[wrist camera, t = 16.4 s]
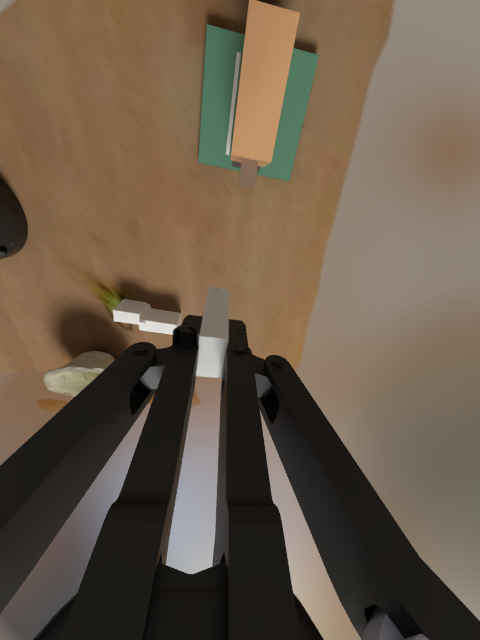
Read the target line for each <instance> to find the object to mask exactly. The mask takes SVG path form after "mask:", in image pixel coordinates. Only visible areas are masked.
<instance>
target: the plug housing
mask: <svg viewBox="0 0 480 640" xmlns="http://www.w3.org/2000/svg"><path fill="white" fill-rule="evenodd" d="M299 16H300V13H298V12H294V11H291V10H288V9H284V8H281V7H277V6H274V5H271V4H267V3H264V2H260V1H257V0H249V6H248V14H247V23H246V31H245V40H244V48H243V57H242V65H241V74H240V82H239V91H238V99H237V108H236V116H235V125H234V133H233V142H232V150H231V161H236V162H241V170H240V177H239V184H238V186H240V187H245V188H250V189H254V185H255V179H256V173H257V167H258V166H261V167H264V166H266V165H268V164H269V163H271V161H272V156H273V151H274V146H275V140H276V135H277V130H278V125H279V120H280V114H281V109H282V104H283V99H284V94H285V89H286V83H287V78H288V73H289V68H290V63H291V57H292V52H293V47H294V42H295V37H296V31H297V26H298V21H299Z"/></svg>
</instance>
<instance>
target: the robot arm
mask: <svg viewBox="0 0 480 640" xmlns="http://www.w3.org/2000/svg"><path fill="white" fill-rule="evenodd" d="M26 239H27V223H26V219H25V216H24V213H23V211H22V208H21V206H20V204H19V203H18V201H17V199H16V198H15V196H14V195H13V194H12V192H11V191H10V190H9V189H8V187H7V186H6V185H5V184H4V183H3V182H2V181H1V180H0V259H3V258H6V257H9V256H12V255H14V254H16V253H18V252H19V251H20V250H21V249H22V248H23V246H24V244H25V242H26ZM222 375H223V377H222ZM196 376H204V377H216V378H222V384H221V389H220V395H221V404H220V430H219V455H218V481H217V506H216V534H215V544H214V555H213V567H210V568H208V569H205V570H203V571H200V572H198V573H195V574H187V573H184V572H182V571H179V570H177V569H174V568H171V567H169V566H166V565H165V564H166V557H167V550H168V542H169V536H170V529H171V523H172V518H173V512H174V506H175V499H176V493H177V487H178V481H179V476H180V469H181V464H182V458H183V451H184V445H185V440H186V434H187V428H188V421H189V415H190V409H191V404H192V398H193V392H194V386H195V377H196ZM155 392H156V393H155ZM154 394H155V396H154V398H153V401H152V404H151V407H150V410H149V413H148V416H147V419H146V422H145V424H144V427H143V430H142V433H141V436H140V438H139V441H138V444H137V447H136V450H135V453H134V456H133V458H132V461H131V464H130V467H129V470H128V473H127V475H126V478H125V481H124V484H123V487H122V490H121V492H120V495H119V497H118V499H117V500H116V501H115V502H114V503H113V504H112V505H111V507H110V509H109V510H108V513H107V515H106V518H105V520H104V522H103V525H102V528H101V531H100V533H99V536H98V539H97V541H96V544H95V547H94V549H93V552H92V555H91V558H90V560H89V563H88V566H87V569H86V571H85V574H84V577H83V579H82V582H81V585H80V587H79V590H78V593H77V594H76V595H75V596H73V597H72V598H71V599H70V600H69V601H68V602H67V603H66V604H65V605H64V606H63V607H62V608H61V609H60V610H59V611H58V612H57V613H56V615H54V617H53V618H52V619H51V620H50V621H49V622H48V624H46V626H45V627H44V628H43V629H42V630H41V632H39V634H38V635H37V636H36V637H35V638H34V640H324V639H323V638H322V636H321V635H320V633H319V631H318V629H317V628H316V626H315V625H314V623H313V622H312V620H311V618H310V616H309V615H308V614H307V612H306V610H305V608H304V607H303V606H302V604H301V602H300V601H299V600H298V598H297V597H296V596H295V595H294V593H293V590H292V584H291V578H290V571H289V565H288V559H287V552H286V546H285V540H284V533H283V527H282V521H281V517H280V513H279V510H278V508H277V506H276V505H275V504H274V503H273V501H272V496H271V489H270V482H269V475H268V467H267V460H266V452H265V445H264V438H263V431H262V423H261V416H260V411H261V413H262V416H263V418H264V420H265V423H266V425H267V428H268V430H269V433H270V435H271V437H272V440H273V442H274V445H275V447H276V449H277V452H278V454H279V457H280V459H281V461H282V464H283V466H284V469H285V471H286V474H287V476H288V478H289V481H290V483H291V486H292V488H293V491H294V493H295V495H296V498H297V500H298V503H299V505H300V507H301V510H302V512H303V515H304V517H305V520H306V522H307V524H308V527H309V529H310V532H311V534H312V536H313V539H314V541H315V544H316V546H317V549H318V551H319V553H320V556H321V558H322V561H323V563H324V565H325V568H326V570H327V573H328V575H329V577H330V580H331V582H332V584H333V586H334V589H335V591H336V593H337V595H338V597H339V600H340V602H341V603H342V605H343V607H344V609H345V611H346V613H347V615H348V617H349V618H350V620H351V622H352V624H353V626H354V627H355V629H356V631H357V632H358V634H359V636H360V637H361V640H480V621H479V620H478V619H477V618H476V617H475V616H474V615H473V613H472V612H471V611H469V609H468V608H467V607H466V606H465V605H464V604H463V603H462V602H461V601H460V600H459V599H458V597H457V596H456V595H455V594H454V593H453V592H452V591H451V590H450V589H449V588H448V587H447V586H446V585H445V584H444V583H443V582H442V580H441V579H440V578H439V577H438V576H437V575H436V574H435V573H434V572H433V571H432V570H431V569H430V568H429V567H428V566H427V565H426V564H425V562H424V561H423V560H422V559H421V558H420V557H419V555H418V554H417V552H416V551H415V550H414V548H413V547H412V545H411V544H410V542H409V541H408V539H407V538H406V536H405V535H404V533H403V532H402V530H401V529H400V527H399V526H398V524H397V523H396V521H395V520H394V518H393V517H392V516H391V514H390V512H389V511H388V509H387V508H386V507H385V505H384V503H383V502H382V501H381V499H380V497H379V496H378V494H377V493H376V491H375V490H374V489H373V487H372V486H371V484H370V482H369V481H368V479H367V478H366V477H365V475H364V474H363V472H362V471H361V469H360V468H359V466H358V465H357V463H356V462H355V460H354V459H353V457H352V456H351V454H350V453H349V451H348V450H347V448H346V447H345V445H344V444H343V442H342V441H341V439H340V438H339V436H338V435H337V433H336V432H335V430H334V429H333V427H332V426H331V424H330V423H329V422H328V420H327V419H326V417H325V415H324V414H323V412H322V411H321V409H320V408H319V407H318V405H317V404H316V402H315V401H314V399H313V398H312V396H311V395H310V393H309V392H308V390H307V389H306V387H305V386H304V384H303V383H302V381H301V380H300V378H299V377H298V375H297V374H296V372H295V371H294V369H293V368H292V366H291V365H290V363H289V362H288V361H287V360H286V359H285V358H283V357H281V356H278V355H270V356H268V357H267V358H266V360H265V359H262V358H259V357H256V356H255V355H253V354H252V352H251V349H250V348H249V347H248V341H247V333H246V325H245V324H244V323H243V321H239V320H231V319H229V289H221V288H214V287H209V289H208V294H207V299H206V304H205V309H204V314H203V317H202V316H194V315H188V316H186V317H185V318H184V320H183V323H182V326H178V327H176V328H175V329H174V330H173V344H172V346H170V347H167V348H163V349H156V347H155V346H154V345H153V344H151V343H147V342H139V343H135V344H133V345H131V346H130V347H128V348H127V349H126V350H125V351H124V352H123V353H122V354H121V355H120V356H119V357H118V358H117V359H115V360H114V361H113V362H112V363H111V364H110V365H109V366H108V367H107V368H106V369H105V370H104V371H102V372H101V373H100V374H99V375H98V376H97V377H96V378H95V379H94V380H93V381H92V382H91V383H89V384H88V385H87V386H86V387H85V388H84V389H83V390H82V391H81V392H80V393H79V394H77V395H76V396H75V397H74V398H73V399H72V400H71V401H70V402H69V403H68V404H67V405H66V406H64V407H63V408H62V409H61V410H60V411H59V412H58V413H57V414H56V415H55V416H54V417H53V418H51V420H49V421H48V422H47V423H46V424H45V425H44V426H43V427H42V428H41V429H40V430H38V431H37V432H36V433H35V434H34V435H33V436H32V437H31V438H30V439H29V440H28V441H27V442H25V443H24V444H23V445H22V446H21V447H20V448H19V449H18V450H17V451H16V452H15V453H14V454H12V455H11V456H10V457H9V458H8V459H7V460H6V461H5V462H4V463H3V464H2V465H0V613H1V612H2V611H3V609H4V608H5V607H6V605H7V604H8V603H9V601H10V600H11V599H12V597H13V596H14V595H15V593H16V592H17V591H18V589H19V588H20V586H21V585H22V584H23V582H24V581H25V580H26V578H27V577H28V575H29V574H30V572H31V571H32V569H33V568H34V566H35V565H36V564H37V562H38V561H39V559H40V558H41V557H42V555H43V554H44V552H45V551H46V549H47V548H48V546H49V545H50V544H51V542H52V541H53V539H54V538H55V536H56V535H57V533H58V532H59V531H60V529H61V527H62V526H63V525H64V523H65V522H66V520H67V519H68V518H69V516H70V515H71V513H72V512H73V510H74V509H75V507H76V506H77V504H78V503H79V502H80V500H81V499H82V497H83V496H84V495H85V493H86V492H87V490H88V489H89V487H90V486H91V484H92V483H93V482H94V480H95V479H96V477H97V476H98V474H99V473H100V471H101V470H102V468H103V467H104V466H105V464H106V463H107V461H108V460H109V458H110V457H111V456H112V454H113V453H114V451H115V450H116V448H117V447H118V445H119V444H120V443H121V441H122V440H123V438H124V436H125V435H126V434H127V433H128V431H129V430H130V428H131V427H132V425H133V424H134V422H135V421H136V419H137V418H138V417H139V415H140V413H141V412H142V411H143V409H144V408H145V407H146V405H147V404H148V402H149V401H150V399H151V398H152V396H153V395H154ZM259 408H260V409H259Z"/></svg>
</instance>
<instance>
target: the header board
mask: <svg viewBox="0 0 480 640" xmlns="http://www.w3.org/2000/svg"><path fill="white" fill-rule="evenodd" d="M244 40H245V35H244V34H241V33H237V32H234V31H230V30H226V29H223V28H219V27H216V26H212V25H208V24H207V31H206V47H205V63H204V79H203V95H202V111H201V127H200V144H199V160H198V162H199V163H201V164H206V165H211V166H216V167H221V168H226V169H231V170H236V171H240V170H241V162H236V161H231V150H232V142H233V133H234V125H235V116H236V108H237V99H238V91H239V82H240V74H241V65H242V57H243V48H244ZM318 57H319V55H317V54H313V53H309V52H306V51H302V50H299V49H295V48H293V52H292V57H291V63H290V68H289V73H288V78H287V83H286V89H285V94H284V99H283V104H282V109H281V114H280V120H279V125H278V130H277V135H276V140H275V146H274V151H273V156H272V161H271V163H269V164H268V165H266V166H264V167H261V166H258V167H257V173H256V175H261V176H266V177H271V178H276V179H281V180H285V181H289V180H290V176H291V172H292V167H293V163H294V159H295V155H296V150H297V146H298V142H299V138H300V133H301V129H302V125H303V121H304V116H305V112H306V108H307V104H308V99H309V95H310V91H311V86H312V82H313V78H314V74H315V69H316V65H317V61H318Z"/></svg>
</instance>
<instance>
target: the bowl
mask: <svg viewBox="0 0 480 640" xmlns="http://www.w3.org/2000/svg"><path fill="white" fill-rule="evenodd" d="M114 360H115V358H114V357H113V356H112V355H110V354H109V353H105V352H100V351H90V352H85V353H82V354H80V355H79V356H77V357H76V358H75V359H74V360H73V361H71V362H70V363H68V364H66V365H65V366H63V367H61V368H58V369H54V370H50V371H48V372H46V374H45V377H44V383H45V384H46V386H47V387H48V389H49V390H51V391H53V392H58V393H63V394H65V395H71V396H76V395H77V394H79V393H80V392H81V391H82V390H83V389H84V388H85V387H86V386H87V385H88V384H89V383H91V382H92V381H93V380H94V379H95V378H96V377H97V376H98V375H99V374H100V373H101V372H102V371H104V370H105V369H106V368H107V367H108V366H109V365H110V364H111V363H112V362H113V361H114Z"/></svg>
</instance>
